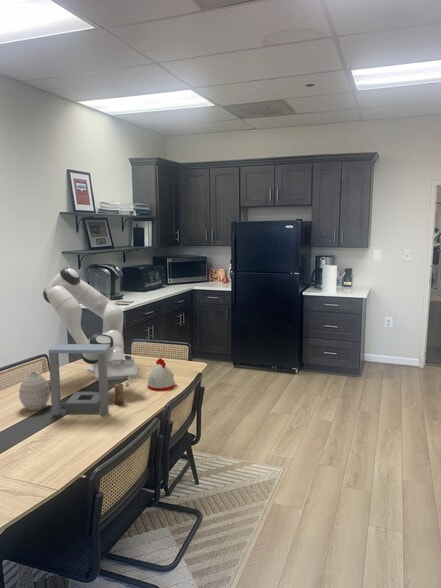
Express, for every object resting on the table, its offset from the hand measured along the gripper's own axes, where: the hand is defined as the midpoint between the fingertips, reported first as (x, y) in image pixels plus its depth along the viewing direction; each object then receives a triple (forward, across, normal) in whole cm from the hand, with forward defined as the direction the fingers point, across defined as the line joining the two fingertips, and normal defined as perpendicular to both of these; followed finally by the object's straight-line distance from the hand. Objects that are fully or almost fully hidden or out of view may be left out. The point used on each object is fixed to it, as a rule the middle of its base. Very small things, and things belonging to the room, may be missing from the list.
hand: (117, 387), depth 203 cm
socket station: (+7, -15, +3) cm, 17 cm away
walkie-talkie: (-12, -36, +23) cm, 45 cm away
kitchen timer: (-6, +23, +16) cm, 29 cm away
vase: (+4, -36, +7) cm, 37 cm away
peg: (+7, +1, +4) cm, 8 cm away
